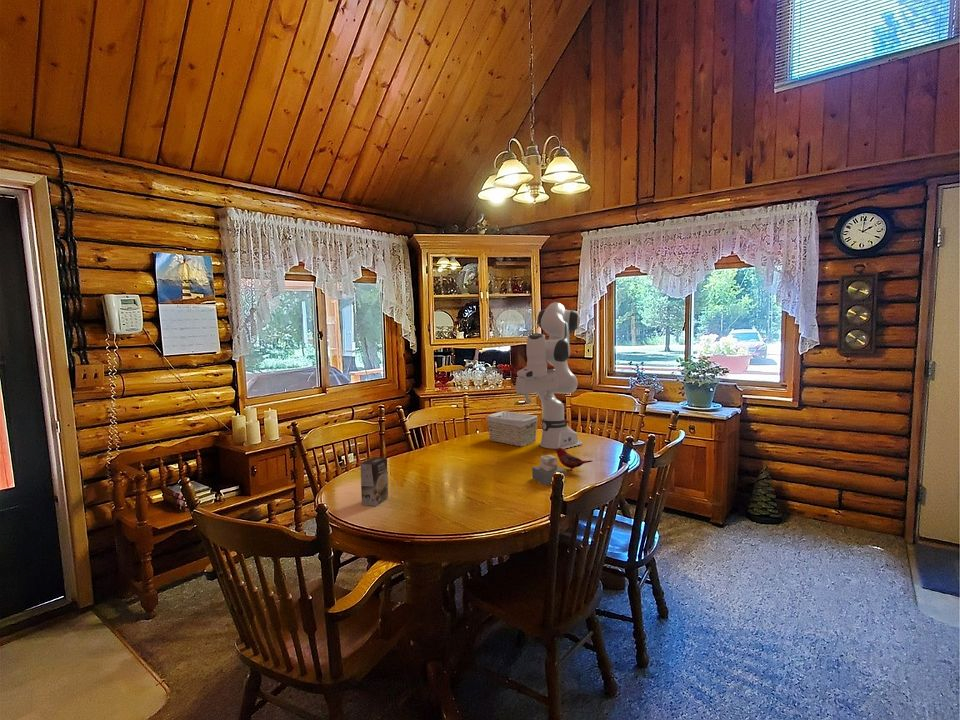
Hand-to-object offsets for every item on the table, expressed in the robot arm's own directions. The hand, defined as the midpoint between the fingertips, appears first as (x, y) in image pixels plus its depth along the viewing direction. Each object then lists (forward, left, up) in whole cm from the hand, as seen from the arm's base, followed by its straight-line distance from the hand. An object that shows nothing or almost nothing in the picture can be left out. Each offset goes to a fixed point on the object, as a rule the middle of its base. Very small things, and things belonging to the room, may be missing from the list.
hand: (537, 401), depth 225 cm
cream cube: (+4, +14, -26) cm, 30 cm away
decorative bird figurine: (-12, +10, -31) cm, 35 cm away
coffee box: (+75, +3, -31) cm, 81 cm away
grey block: (+4, +14, -31) cm, 34 cm away
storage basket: (-14, -49, -31) cm, 60 cm away
